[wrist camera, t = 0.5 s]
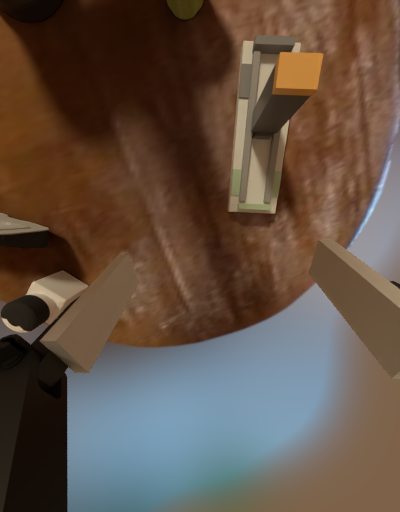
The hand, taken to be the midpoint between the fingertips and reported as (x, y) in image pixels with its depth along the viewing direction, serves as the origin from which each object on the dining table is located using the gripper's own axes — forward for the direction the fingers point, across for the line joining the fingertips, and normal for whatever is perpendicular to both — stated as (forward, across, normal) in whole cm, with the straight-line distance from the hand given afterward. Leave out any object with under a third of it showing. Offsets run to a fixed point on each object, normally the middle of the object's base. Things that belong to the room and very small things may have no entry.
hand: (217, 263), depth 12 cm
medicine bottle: (+17, -36, -17) cm, 43 cm away
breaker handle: (+27, +9, +9) cm, 30 cm away
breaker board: (+29, +9, +7) cm, 31 cm away
